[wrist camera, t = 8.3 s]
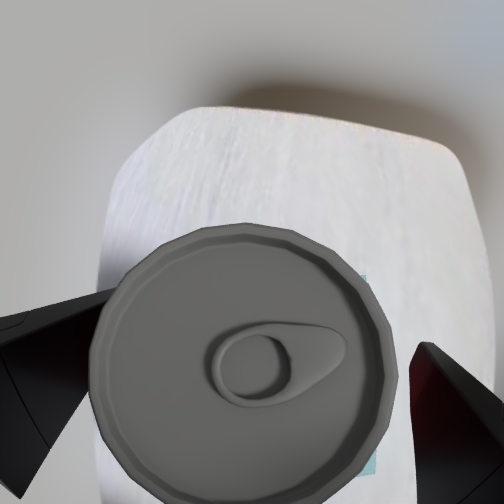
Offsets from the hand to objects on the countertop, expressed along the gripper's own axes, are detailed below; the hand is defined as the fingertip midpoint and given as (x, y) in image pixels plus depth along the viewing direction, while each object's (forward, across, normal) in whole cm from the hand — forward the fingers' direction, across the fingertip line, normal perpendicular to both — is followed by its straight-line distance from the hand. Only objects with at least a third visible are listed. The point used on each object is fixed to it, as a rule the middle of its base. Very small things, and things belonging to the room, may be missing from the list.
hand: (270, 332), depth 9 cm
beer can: (+5, 0, +7) cm, 8 cm away
